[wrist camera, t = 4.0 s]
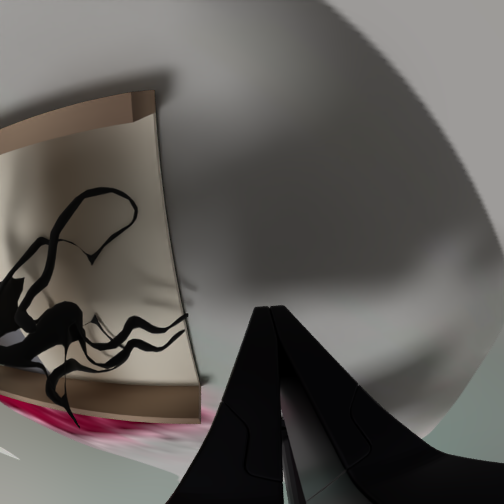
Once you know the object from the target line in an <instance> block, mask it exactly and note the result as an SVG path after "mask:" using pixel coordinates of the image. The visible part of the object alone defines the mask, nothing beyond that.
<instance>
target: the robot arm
mask: <svg viewBox="0 0 504 504" xmlns="http://www.w3.org/2000/svg"><path fill="white" fill-rule="evenodd" d="M281 410H282V414H283V418H284V420H281ZM283 472H284V478H285V484H286V490H287V496H288V503H289V504H504V463H497V462H489V461H483V460H477V459H471V458H465V457H460V456H455V455H450V454H446V453H444V452H441V451H439V450H437V449H435V448H433V447H431V446H430V445H429V444H427V443H426V442H425V441H423V440H422V439H421V438H419V437H418V436H417V435H416V434H414V433H413V432H412V431H410V430H409V429H408V428H407V427H405V426H404V425H403V424H402V423H400V422H399V421H398V420H397V419H395V418H394V417H393V416H392V415H391V414H389V413H388V412H387V411H386V410H385V409H384V408H382V407H381V406H380V405H379V404H378V403H377V402H376V401H375V400H374V399H373V398H372V397H371V396H370V395H369V394H368V393H367V392H366V391H365V390H364V389H363V388H362V387H361V386H360V385H358V383H357V382H356V381H355V380H354V379H353V378H352V377H351V376H350V374H349V373H348V372H347V371H346V370H345V369H344V368H343V367H342V366H341V365H340V364H339V363H338V362H337V361H336V360H335V359H334V358H333V357H332V356H331V355H330V354H329V352H328V351H327V350H326V349H325V348H324V347H323V346H322V345H321V344H320V343H319V342H318V341H317V340H316V339H315V338H314V337H313V336H312V335H311V333H310V332H309V331H308V330H307V329H306V328H305V327H304V326H303V325H302V324H301V323H300V322H299V321H298V320H297V319H296V318H295V316H294V315H293V314H292V313H291V312H290V311H289V310H288V309H287V308H286V307H285V306H283V305H278V306H271V307H270V308H269V307H268V306H262V307H255V308H254V310H253V313H252V316H251V318H250V321H249V324H248V327H247V330H246V333H245V336H244V339H243V341H242V344H241V347H240V350H239V353H238V356H237V358H236V361H235V364H234V367H233V370H232V372H231V375H230V378H229V381H228V383H227V386H226V389H225V392H224V395H223V397H222V402H221V403H220V405H219V408H218V410H217V413H216V416H215V418H214V420H213V423H212V425H211V428H210V430H209V432H208V434H207V436H206V438H205V440H204V442H203V444H202V446H201V448H200V449H199V451H198V453H197V455H196V456H195V458H194V460H193V462H192V463H191V465H190V467H189V468H188V470H187V472H186V473H185V475H184V477H183V478H182V480H181V482H180V484H179V485H178V487H177V488H176V490H175V491H174V493H173V494H172V496H171V497H170V498H169V500H168V501H167V502H166V503H165V504H284V498H283V483H282V482H283Z"/></svg>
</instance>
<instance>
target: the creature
mask: <svg viewBox="0 0 504 504" xmlns="http://www.w3.org/2000/svg"><path fill="white" fill-rule="evenodd" d="M107 193H114V194H117V195H119V196H121V197H123V198H125V199H128V200H129V202H130V203H131V205H132V207H133V209H134V210H135V211H134V216H133V220H132V221H131V223H130V224H129V225H127V226H125V227H124V228H122V229H120V230H119V231H117V232H115V233H114V234H112V235H111V236H110V237H109V238H108V239H107V240H106V241H105V243H104V244H103V245H102V246H101V247H100V248H99V249H98V251H96V252H95V253H94V254H92V255H90V254H87V253H85V252H84V251H83V250H82V249H81V248H80V247H79V248H80V249H81V250H82V251H83V253H84V254H86V255H87V257H88V260H89V262H90V263H91V265H93V264H94V261H95V260H96V258H97V257H98V255H99V254H100V252H101V251H102V249H103V248H104V246H106V245H107V244H108V243H110V242H111V241H112V240H113V239H115V238H116V237H117V236H118V235H120V234H121V233H122V232H124V231H125V230H126V229H128V228H129V227H130V226H131V225H132V224H133V223H134V222H135V220H136V219H137V214H138V207H137V206H136V204H135V202H134V201H133V200H132V198H131V197H130V196H128V195H127V194H126V193H124V192H123V191H120V190H118V189H115V188H110V187H97V188H92V189H88V190H86V191H84V192H83V193H81V194H80V195H78V196H77V197H75V198H74V199H73V201H72V202H71V203H70V204H69V205H68V206H67V207H66V209H65V210H64V211H63V212H62V213H61V214H60V216H59V217H58V219H57V221H56V222H55V224H54V226H53V228H52V230H51V232H50V239H49V240H48V239H46V238H44V237H39V238H37V239H36V240H35V242H34V243H33V244H32V245H31V246H30V247H29V248H28V250H27V251H26V252H25V253H24V255H23V256H22V257H21V258H20V259H19V261H18V262H17V263H16V264H15V265H14V267H13V268H12V269H11V270H10V271H9V273H8V274H7V275H6V277H5V278H4V279H3V281H1V282H0V338H1V337H2V336H4V335H5V334H7V333H10V332H13V331H14V332H15V331H17V330H18V329H20V328H22V329H23V330H24V331H25V332H26V333H29V334H28V335H27V336H26V338H25V339H24V340H23V341H22V342H19V343H16V344H13V345H10V346H7V347H6V346H2V345H0V364H1V365H6V366H10V367H20V368H34V367H37V368H40V369H42V370H43V371H44V372H45V375H46V377H47V380H46V385H45V392H46V395H47V397H48V398H49V399H50V400H51V401H53V402H54V403H55V404H56V405H58V406H61V407H64V408H65V410H66V411H67V412H68V414H69V415H70V416H71V417H72V419H73V420H74V422H75V423H76V425H77V426H78V427H79V428H80V426H79V425H78V423H77V421H76V419H75V417H74V416H73V414H72V411H71V409H70V406H69V403H68V398H67V392H66V374H68V373H71V372H73V371H83V372H88V373H103V372H109V371H111V370H114V369H116V368H118V367H119V366H121V365H122V364H123V363H124V362H126V361H127V359H128V358H129V356H130V353H131V351H132V350H133V348H134V347H135V348H138V349H140V350H143V351H145V352H161V351H163V350H164V349H166V348H167V347H168V346H170V345H171V344H172V343H173V342H174V341H175V340H176V339H177V338H179V337H180V336H181V335H182V334H183V333H184V332H185V329H182V330H181V331H179V332H177V333H176V334H175V335H174V336H172V338H171V339H170V340H169V341H168V342H167V343H166V344H165V345H164V346H162V347H156V346H153V345H151V344H149V343H147V342H145V341H143V340H141V339H131V340H129V341H128V342H127V343H126V345H125V347H124V346H122V345H121V344H122V343H123V342H124V341H126V340H127V338H128V336H129V335H130V333H131V331H132V330H133V329H136V328H141V329H144V330H145V331H147V332H150V333H152V334H161V333H165V332H167V331H168V330H169V329H170V328H172V327H174V326H176V325H177V324H178V323H180V322H181V321H183V320H184V319H186V318H187V317H188V313H186V314H184V315H182V316H180V317H179V318H178V319H177V320H175V321H174V322H173V323H172V324H171V325H170V326H168V327H166V328H160V327H156V326H153V325H152V324H150V323H149V322H147V321H146V320H144V319H142V318H141V317H139V316H135V315H134V316H131V317H129V318H128V319H127V321H126V323H125V324H124V327H123V330H122V331H121V332H120V333H119V334H117V335H116V336H115V337H114V338H113V339H112V338H111V337H110V336H109V335H108V334H107V333H106V332H105V331H104V329H103V328H102V326H101V325H100V323H99V322H98V319H97V317H96V315H94V317H93V319H92V320H91V321H90V322H89V323H93V324H96V325H97V326H98V327H99V328H100V330H101V331H102V332H103V333H104V334H105V335H106V336H107V337H108V338H109V339H110V340H111V341H109V342H108V343H92V342H91V341H90V340H89V339H88V338H87V337H86V332H85V329H84V328H83V326H84V325H83V312H82V310H81V309H80V307H79V306H78V305H77V304H75V303H73V302H70V301H63V302H60V303H58V304H55V305H54V306H53V307H52V308H49V309H47V310H46V311H45V312H44V313H43V314H42V315H41V316H40V317H39V318H38V319H35V320H33V318H32V317H31V316H30V315H29V314H28V313H27V309H28V307H29V306H30V304H31V302H32V300H33V299H34V297H35V296H36V295H37V294H38V293H40V292H41V291H42V290H43V289H44V288H46V287H47V286H48V284H49V282H50V280H51V277H52V274H53V270H54V266H55V260H56V253H57V245H58V242H59V241H66V242H68V243H71V244H73V245H75V246H77V245H76V244H74V243H73V242H70V241H67V240H64V239H59V235H60V233H61V231H62V230H63V228H64V227H65V225H66V224H67V222H68V221H69V219H70V218H71V217H72V215H73V214H74V212H75V211H76V210H77V208H78V207H79V205H80V204H81V203H82V201H83V200H84V199H85V198H89V197H94V196H98V195H103V194H107ZM45 244H46V245H49V246H48V253H47V260H46V264H45V268H44V271H43V273H42V275H41V277H40V278H39V279H38V280H37V281H36V282H35V283H34V284H33V285H32V286H31V287H30V288H29V290H28V291H27V293H26V295H25V297H24V298H23V300H22V301H21V303H20V305H19V307H18V301H19V298H20V295H21V293H22V291H23V285H24V279H25V277H23V278H17V279H16V278H13V277H12V276H13V275H14V273H15V272H16V271H17V270H18V269H19V268H20V267H21V266H22V265H23V264H24V263H25V262H26V261H27V260H29V259H30V258H31V257H32V256H33V255H34V254H35V253H36V251H37V250H38V249H39V248H40V247H41V246H43V245H45ZM87 324H88V323H87ZM85 325H86V324H85ZM78 340H79V343H80V346H81V348H82V350H83V352H84V354H85V356H86V358H87V359H88V360H89V361H90V362H91V363H92V364H94V365H96V366H99V367H102V368H105V370H100V371H97V370H94V369H92V368H89V367H86V366H84V365H81V364H80V363H79V362H78V361H76V360H75V359H73V358H70V359H68V360H66V356H67V351H68V348H69V345H70V344H71V343H72V342H75V341H78ZM86 343H87V344H89V345H90V346H91V347H93V348H95V349H97V350H99V351H104V350H110V349H116V348H118V347H121V348H122V349H123V350H122V351H120V352H119V353H118V354H116V355H115V356H114V357H112V358H111V359H110V360H108V361H107V362H106V363H96V362H95V361H94V360H92V359H91V358H90V357H89V356H88V355H87V348H86ZM56 345H63V347H64V350H65V360H64V363H63V364H62V365H60V366H59V367H57V368H55V369H54V370H53V371H52V373H51V374H50V375H49V376H48V374H47V371H46V368H45V367H44V365H43V364H42V363H40V362H34V361H31V360H32V359H33V358H34V357H36V356H38V355H39V354H41V353H42V352H44V351H46V350H48V349H50V348H52V347H54V346H56ZM115 366H116V367H115ZM112 367H114V368H112ZM109 368H111V369H109ZM64 375H65V384H64V388H65V394H64V395H63V396H62V398H61V397H60V396H59V394H58V393H57V392H56V391H55V390H56V385H57V383H58V381H59V379H60V378H61V377H62V376H64Z"/></svg>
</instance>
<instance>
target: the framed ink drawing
mask: <svg viewBox="0 0 504 504" xmlns="http://www.w3.org/2000/svg"><path fill="white" fill-rule="evenodd" d="M97 187H110V188H115V189H118V190H120V191H123V192H124V193H126V194H127V195H128V196H130V197H131V198H132V200H133V201H134V202H135V204H136V206H137V207H138V214H137V219H136V220H135V222H134V223H133V224H132V225H131V226H130V227H129V228H128V229H126V230H125V231H124V232H122V233H121V234H120V235H118V236H117V237H116V238H115V239H113V240H112V241H111V242H110V243H108V244H107V245H106V246H104V248H103V249H102V251H101V252H100V254H99V255H98V257H97V258H96V260H95V261H94V264H93V265H91V263H90V262H89V260H88V257H87V255H86V254H84V253H83V251H84V252H85V253H87V254H90V255H92V254H94V253H95V252H96V251H98V249H99V248H100V247H101V246H102V245H103V244H104V243H105V241H106V240H107V239H108V238H109V237H110V236H111V235H112V234H114V233H115V232H117V231H119V230H120V229H122V228H124V227H125V226H127V225H129V224H130V223H131V221H132V220H133V216H134V211H135V210H134V209H133V207H132V205H131V203H130V202H129V200H128V199H125V198H123V197H121V196H119V195H117V194H114V193H107V194H103V195H98V196H94V197H89V198H85V199H84V200H83V201H82V203H81V204H80V205H79V207H78V208H77V210H76V211H75V212H74V214H73V215H72V217H71V218H70V219H69V221H68V222H67V224H66V225H65V227H64V228H63V230H62V231H61V233H60V235H59V239H64V240H67V241H70V242H73V243H74V244H76V245H77V246H75V245H73V244H71V243H68V242H66V241H59V242H58V245H57V253H56V260H55V266H54V270H53V274H52V277H51V280H50V282H49V284H48V286H47V287H46V288H44V289H43V290H42V291H41V292H40V293H38V294H37V295H36V296H35V297H34V299H33V300H32V302H31V304H30V306H29V307H28V309H27V313H28V314H29V315H30V316H31V317H32V318H33V320H35V319H38V318H39V317H40V316H41V315H42V314H43V313H44V312H45V311H46V310H47V309H49V308H52V307H53V306H54V305H55V304H58V303H60V302H63V301H70V302H73V303H75V304H77V305H78V306H79V307H80V309H81V310H82V312H83V325H84V326H83V328H84V329H85V332H86V337H87V338H88V339H89V340H90V341H91V342H92V343H108V342H109V341H111V340H110V339H109V338H108V337H107V336H106V335H105V334H104V333H103V332H102V331H101V330H100V328H99V327H98V326H97V325H96V324H93V323H89V322H90V321H91V320H92V319H93V317H94V315H96V317H97V319H98V322H99V323H100V325H101V326H102V328H103V329H104V331H105V332H106V333H107V334H108V335H109V336H110V337H111V338H112V339H113V338H114V337H115V336H116V335H117V334H119V333H120V332H121V331H122V330H123V327H124V324H125V323H126V321H127V319H128V318H129V317H131V316H134V315H135V316H139V317H141V318H142V319H144V320H146V321H147V322H149V323H150V324H152V325H153V326H156V327H160V328H166V327H168V326H170V325H171V324H172V323H173V322H174V321H175V320H177V319H178V318H179V317H180V316H182V315H184V313H183V308H182V303H181V298H180V293H179V288H178V283H177V277H176V272H175V266H174V261H173V255H172V249H171V242H170V236H169V230H168V223H167V216H166V209H165V201H164V193H163V185H162V176H161V167H160V158H159V147H158V136H157V123H156V108H155V90H147V91H137V92H129V93H123V94H118V95H113V96H108V97H103V98H99V99H94V100H90V101H86V102H82V103H78V104H74V105H70V106H67V107H63V108H60V109H56V110H53V111H50V112H46V113H43V114H40V115H37V116H34V117H31V118H28V119H26V120H23V121H20V122H17V123H15V124H12V125H10V126H7V127H5V128H2V129H0V282H1V281H3V279H4V278H5V277H6V275H7V274H8V273H9V271H10V270H11V269H12V268H13V267H14V265H15V264H16V263H17V262H18V261H19V259H20V258H21V257H22V256H23V255H24V253H25V252H26V251H27V250H28V248H29V247H30V246H31V245H32V244H33V243H34V242H35V240H36V239H37V238H39V237H44V238H46V239H48V240H49V239H50V232H51V230H52V228H53V226H54V224H55V222H56V221H57V219H58V217H59V216H60V214H61V213H62V212H63V211H64V210H65V209H66V207H67V206H68V205H69V204H70V203H71V202H72V201H73V199H74V198H75V197H77V196H78V195H80V194H81V193H83V192H84V191H86V190H88V189H92V188H97ZM48 246H49V245H46V244H45V245H43V246H41V247H40V248H39V249H38V250H37V251H36V253H35V254H34V255H33V256H32V257H31V258H30V259H29V260H27V261H26V262H25V263H24V264H23V265H22V266H21V267H20V268H19V269H18V270H17V271H16V272H15V273H14V275H13V276H12V277H13V278H16V279H17V278H23V277H25V279H24V285H23V291H22V293H21V295H20V298H19V301H18V307H19V305H20V303H21V301H22V300H23V298H24V297H25V295H26V293H27V291H28V290H29V288H30V287H31V286H32V285H33V284H34V283H35V282H36V281H37V280H38V279H39V278H40V277H41V275H42V273H43V271H44V268H45V264H46V260H47V253H48ZM79 247H80V248H81V249H82V250H83V251H82V250H81V249H80V248H79ZM87 323H88V324H87ZM85 324H86V325H85ZM182 329H185V332H184V333H183V334H182V335H181V336H180V337H179V338H177V339H176V340H175V341H174V342H173V343H172V344H171V345H170V346H168V347H167V348H166V349H164V350H163V351H161V352H145V351H143V350H140V349H138V348H135V347H134V348H133V350H132V351H131V353H130V356H129V358H128V359H127V361H126V362H124V363H123V364H122V365H121V366H119V367H118V368H116V369H114V370H111V371H109V372H103V373H88V372H83V371H73V372H71V373H68V374H66V392H67V398H68V403H69V406H70V409H71V411H72V413H77V414H82V415H88V416H95V417H102V418H109V419H117V420H127V421H138V422H151V423H172V424H201V385H200V381H199V377H198V374H197V370H196V366H195V362H194V357H193V353H192V349H191V345H190V340H189V336H188V332H187V327H186V322H185V319H184V320H183V321H181V322H180V323H178V324H177V325H176V326H174V327H172V328H170V329H169V330H168V331H167V332H165V333H161V334H152V333H150V332H147V331H145V330H144V329H141V328H136V329H133V330H132V331H131V333H130V335H129V336H128V338H127V340H126V341H124V342H123V343H122V344H121V345H122V346H124V347H125V345H126V343H127V342H128V341H129V340H131V339H141V340H143V341H145V342H147V343H149V344H151V345H153V346H156V347H162V346H164V345H165V344H166V343H167V342H168V341H169V340H170V339H171V338H172V336H174V335H175V334H176V333H177V332H179V331H181V330H182ZM28 334H29V333H26V332H25V331H24V330H23V329H22V328H20V329H18V330H17V331H15V332H14V331H13V332H10V333H7V334H5V335H4V336H2V337H1V338H0V345H2V346H6V347H7V346H10V345H13V344H16V343H19V342H22V341H23V340H24V339H25V338H26V336H27V335H28ZM86 348H87V355H88V356H89V357H90V358H91V359H92V360H94V361H95V362H96V363H106V362H107V361H108V360H110V359H111V358H112V357H114V356H115V355H116V354H118V353H119V352H120V351H122V350H123V349H122V348H121V347H118V348H116V349H110V350H104V351H99V350H97V349H95V348H93V347H91V346H90V345H89V344H87V343H86ZM70 358H73V359H75V360H76V361H78V362H79V363H80V364H81V365H84V366H86V367H89V368H92V369H94V370H97V371H100V370H105V368H102V367H99V366H96V365H94V364H92V363H91V362H90V361H89V360H88V359H87V358H86V356H85V354H84V352H83V350H82V348H81V346H80V343H79V340H78V341H75V342H72V343H71V344H70V345H69V348H68V351H67V356H66V360H68V359H70ZM64 360H65V350H64V347H63V345H56V346H54V347H52V348H50V349H48V350H46V351H44V352H42V353H41V354H39V355H38V356H36V357H34V358H33V359H32V360H31V361H34V362H40V363H42V364H43V365H44V367H45V368H46V371H47V374H48V376H49V375H50V374H51V373H52V371H53V370H54V369H55V368H57V367H59V366H60V365H62V364H63V363H64ZM115 367H116V366H115ZM112 368H114V367H112ZM109 369H111V368H109ZM46 380H47V377H46V375H45V372H44V371H43V370H42V369H40V368H37V367H34V368H20V367H10V366H6V365H1V364H0V394H1V395H4V396H7V397H10V398H14V399H17V400H21V401H24V402H28V403H32V404H35V405H39V406H43V407H48V408H52V409H57V410H61V411H66V410H65V408H64V407H61V406H58V405H56V404H55V403H54V402H53V401H51V400H50V399H49V398H48V397H47V395H46V392H45V385H46ZM64 384H65V375H64V376H62V377H61V378H60V379H59V381H58V383H57V385H56V390H55V391H56V392H57V393H58V394H59V396H60V397H61V398H62V396H63V395H64V394H65V388H64ZM66 412H67V411H66Z"/></svg>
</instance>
